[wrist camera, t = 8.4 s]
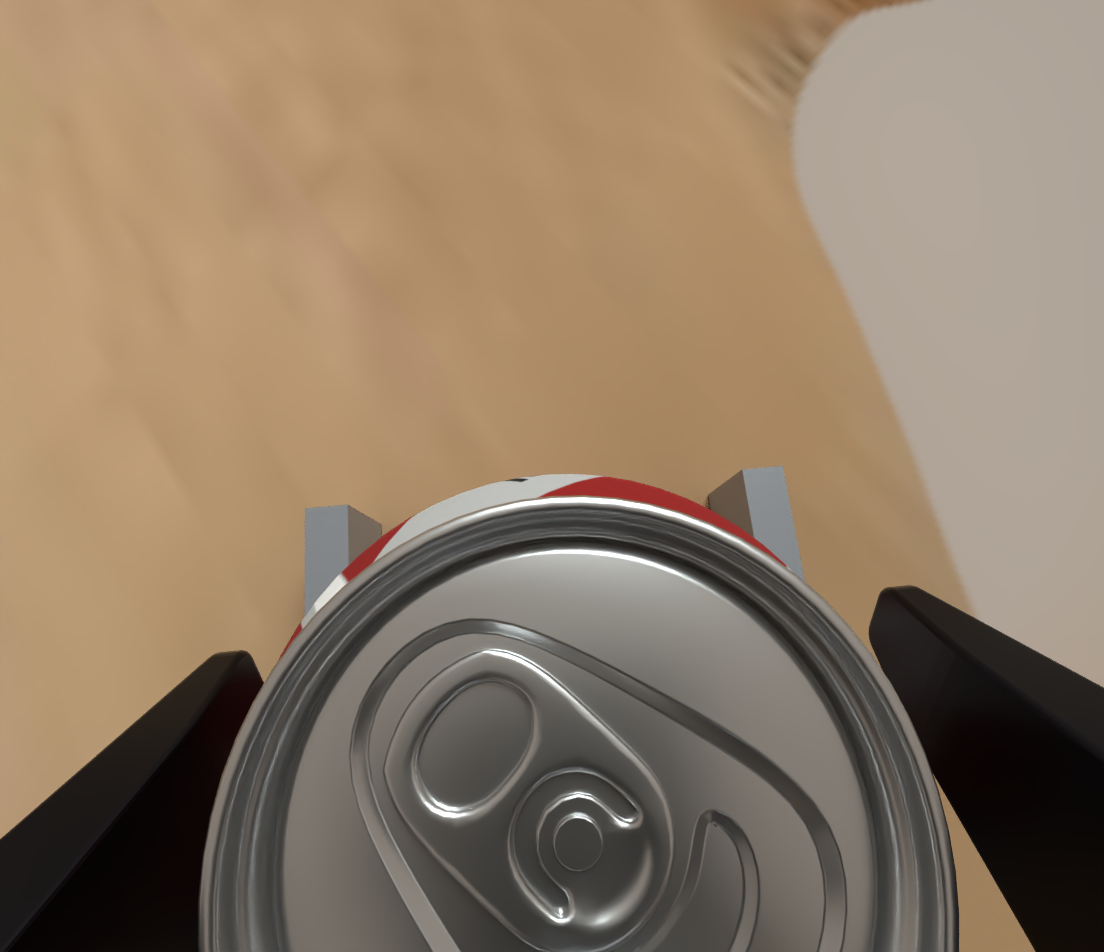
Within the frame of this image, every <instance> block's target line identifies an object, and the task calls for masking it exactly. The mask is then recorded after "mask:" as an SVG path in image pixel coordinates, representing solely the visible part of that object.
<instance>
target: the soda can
mask: <svg viewBox="0 0 1104 952" xmlns="http://www.w3.org/2000/svg"><path fill="white" fill-rule="evenodd" d="M198 952H959V907H958V895H957V882H956V871H955V865H954V859H953V853H952V847H951V841H950V835H949V829H948V825H947V821H946V818H945V814H944V810H943V806H942V802H941V798H940V794H939V790H938V788H937V785H936V782H935V779H934V776H933V773H932V770H931V767H930V765H929V762H928V759H927V756H926V753H925V751H924V749H923V746H922V744H921V742H920V740H919V737H918V735H917V733H916V731H915V728H914V726H913V724H912V722H911V719H910V717H909V715H908V713H907V712H906V710H905V708H904V706H903V704H902V702H901V701H900V699H899V697H898V695H897V693H896V692H895V690H894V688H893V686H892V684H891V683H890V681H889V680H888V678H887V677H886V675H885V674H884V672H883V671H882V669H881V668H880V666H879V665H878V663H877V662H876V660H875V659H874V657H873V656H872V654H871V653H870V651H869V650H868V649H867V648H866V646H865V645H864V644H863V643H862V641H861V640H860V639H859V638H858V636H857V635H856V634H855V633H854V631H853V630H852V629H851V628H850V626H849V625H848V624H847V623H846V622H845V621H844V620H843V619H842V618H841V617H840V616H839V614H838V613H837V612H836V611H835V610H834V609H833V608H832V607H831V606H830V605H829V604H828V603H827V602H826V601H825V600H824V599H823V598H822V597H821V596H820V595H819V594H818V593H817V592H815V591H814V590H813V589H812V588H811V587H810V586H809V585H807V584H806V583H805V582H804V581H803V580H802V579H801V578H800V577H798V576H797V575H796V574H795V573H793V572H792V571H791V569H790V568H789V567H788V566H787V565H786V564H785V563H783V562H782V561H781V560H780V559H779V558H778V557H777V556H776V555H774V554H773V553H772V552H771V551H770V550H769V549H768V548H766V547H765V546H764V545H763V544H762V543H760V542H759V541H758V540H756V539H755V538H753V537H752V536H751V535H749V534H748V533H747V532H745V531H744V530H743V529H741V528H740V527H738V526H737V525H735V524H733V523H732V522H730V521H728V520H727V519H725V518H723V517H722V516H720V515H718V514H717V513H715V512H713V511H712V510H709V509H707V508H705V507H703V506H701V505H699V504H697V503H695V502H693V501H691V500H689V499H687V498H684V497H681V496H679V495H676V494H673V493H671V492H668V491H665V490H662V489H660V488H656V487H652V486H649V485H645V484H641V483H638V482H634V481H629V480H623V479H617V478H612V477H606V476H595V475H581V474H553V475H539V476H530V477H522V478H515V479H511V480H506V481H502V482H497V483H492V484H488V485H485V486H482V487H479V488H476V489H473V490H469V491H466V492H463V493H460V494H458V495H456V496H453V497H451V498H449V499H446V500H444V501H442V502H439V503H437V504H435V505H433V506H431V507H429V508H427V509H425V510H423V511H422V512H420V513H418V514H416V515H414V516H412V517H411V518H409V519H407V520H406V521H404V522H403V523H401V524H400V525H398V526H397V527H395V528H394V529H392V530H391V531H389V532H388V533H386V534H385V535H383V536H382V537H381V538H380V539H378V540H377V541H376V542H375V543H373V544H372V545H371V546H370V547H368V548H367V549H366V550H365V551H363V552H362V553H361V554H360V555H359V556H358V557H357V558H356V559H355V560H354V561H353V562H352V563H350V564H349V565H348V566H347V567H346V568H345V569H344V570H343V571H342V572H341V573H340V574H339V575H338V576H337V577H336V578H335V580H334V581H333V582H332V583H331V584H330V585H329V587H328V588H327V589H326V590H325V591H324V592H323V594H322V595H321V596H320V597H319V598H318V599H317V601H316V602H315V603H314V605H313V606H312V608H311V609H310V610H309V612H308V613H307V615H306V616H305V617H304V619H303V620H302V622H301V623H300V624H299V626H298V627H297V629H296V631H295V632H294V634H293V636H292V637H291V639H290V641H289V642H288V644H287V646H286V648H285V649H284V651H283V653H282V654H281V656H280V658H279V660H278V662H277V664H276V665H275V666H274V668H273V669H272V671H271V672H270V674H269V676H268V678H267V679H266V681H265V683H264V684H263V686H262V688H261V689H260V691H259V693H258V695H257V696H256V698H255V700H254V701H253V703H252V705H251V707H250V709H249V711H248V713H247V716H246V718H245V720H244V722H243V724H242V726H241V728H240V730H239V732H238V734H237V737H236V739H235V741H234V744H233V747H232V749H231V752H230V755H229V757H228V760H227V763H226V765H225V768H224V771H223V773H222V776H221V779H220V783H219V787H218V790H217V794H216V797H215V801H214V805H213V808H212V812H211V815H210V820H209V826H208V831H207V836H206V841H205V847H204V852H203V857H202V867H201V877H200V887H199V897H198Z"/></svg>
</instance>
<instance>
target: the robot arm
mask: <svg viewBox="0 0 1104 952" xmlns="http://www.w3.org/2000/svg"><path fill="white" fill-rule="evenodd" d="M869 639H870V643H871V645H872V648H873V650H874V652H875V655H876V657H877V659H878V661H879V663H880V666H881V668H882V670H883V672H884V674H885V675H886V677H887V678H888V680H889V681H890V683H891V684H892V686H893V688H894V690H895V692H896V693H897V695H898V697H899V699H900V701H901V702H902V704H903V706H904V708H905V710H906V712H907V713H908V715H909V717H910V719H911V722H912V724H913V726H914V728H915V731H916V733H917V735H918V737H919V740H920V742H921V744H922V746H923V749H924V751H925V753H926V756H927V759H928V762H929V765H930V767H931V770H932V773H933V774H934V776H935V778H936V780H937V781H938V783H939V785H940V786H941V788H942V790H943V792H944V793H945V795H946V797H947V799H948V800H949V802H950V804H951V806H952V807H953V809H954V811H955V813H956V814H957V816H958V818H959V819H960V821H961V823H962V825H963V826H964V828H965V830H966V832H967V833H968V835H969V837H970V839H971V840H972V842H973V844H974V846H975V847H976V849H977V851H978V852H979V854H980V856H981V858H982V859H983V861H984V863H985V865H986V866H987V868H988V870H989V872H990V873H991V875H992V877H993V879H994V880H995V882H996V884H997V885H998V887H999V889H1000V891H1001V892H1002V894H1003V896H1004V898H1005V899H1006V901H1007V903H1008V905H1009V906H1010V908H1011V910H1012V912H1013V913H1014V915H1015V917H1016V918H1017V920H1018V922H1019V924H1020V925H1021V927H1022V929H1023V931H1024V932H1025V934H1026V936H1027V938H1028V939H1029V941H1030V943H1031V945H1032V946H1033V948H1034V950H1035V951H1036V952H1104V688H1103V687H1101V686H1100V685H1098V684H1096V683H1094V682H1092V681H1090V680H1088V679H1086V678H1085V677H1083V676H1081V675H1079V674H1077V673H1076V672H1073V671H1072V670H1070V669H1068V668H1066V667H1064V666H1063V665H1061V664H1059V663H1057V662H1055V661H1053V660H1052V659H1050V658H1048V657H1046V656H1044V655H1042V654H1040V653H1039V652H1037V651H1035V650H1033V649H1031V648H1029V647H1027V646H1026V645H1023V644H1022V643H1020V642H1018V641H1016V640H1015V639H1013V638H1011V637H1009V636H1007V635H1005V634H1003V633H1002V632H1000V631H998V630H996V629H994V628H992V627H990V626H989V625H987V624H985V623H983V622H981V621H979V620H977V619H976V618H974V617H972V616H970V615H968V614H966V613H964V612H963V611H961V610H959V609H957V608H955V607H953V606H952V605H950V604H948V603H946V602H944V601H942V600H940V599H939V598H937V597H935V596H933V595H931V594H929V593H927V592H926V591H924V590H922V589H920V588H918V587H915V586H910V585H907V586H896V587H887V588H885V589H883V590H882V591H881V592H880V595H879V597H878V600H877V604H876V607H875V610H874V613H873V616H872V619H871V622H870V626H869ZM263 684H264V682H263V680H262V678H261V675H260V673H259V671H258V669H257V667H256V665H255V662H254V660H253V658H252V656H251V655H250V654H249V653H248V652H247V651H243V650H239V651H229V652H220V653H216V654H214V655H212V656H211V657H210V658H208V659H207V660H206V661H205V662H204V663H203V664H201V665H200V666H199V667H198V668H197V669H196V670H195V671H193V672H192V673H191V674H190V675H189V676H188V677H186V678H185V679H184V680H183V681H182V682H181V683H180V684H178V685H177V686H176V687H175V688H174V689H173V690H171V691H170V692H169V693H168V694H167V695H166V696H165V697H163V698H162V699H161V700H160V701H159V702H158V703H157V704H155V705H154V706H153V707H152V708H151V709H150V710H148V711H147V712H146V713H145V714H144V715H143V716H142V717H140V718H139V719H138V720H137V721H136V722H135V723H134V724H132V725H131V726H130V727H129V728H128V729H127V730H125V731H124V732H123V733H122V734H121V735H120V736H119V737H117V738H116V739H115V740H114V741H113V742H112V743H110V744H109V745H108V746H107V747H106V748H105V749H104V750H102V751H101V752H100V753H99V754H98V755H97V756H96V757H94V758H93V759H92V760H91V761H90V762H89V763H87V764H86V765H85V766H84V767H83V768H82V769H81V770H79V771H78V772H77V773H76V774H75V775H74V776H72V777H71V778H70V779H69V780H68V781H67V782H66V783H64V784H63V785H62V786H61V787H60V788H59V789H58V790H56V791H55V792H54V793H53V794H52V795H51V796H49V797H48V798H47V799H46V800H45V801H44V802H43V803H41V804H40V805H39V806H38V807H37V808H36V809H34V810H33V811H32V812H31V813H30V814H29V815H28V816H26V817H25V818H24V819H23V820H22V821H21V822H20V823H18V824H17V825H16V826H15V827H14V828H13V829H11V830H10V831H9V832H8V833H7V834H6V835H5V836H3V837H2V838H1V839H0V952H198V897H199V887H200V877H201V867H202V857H203V852H204V847H205V841H206V836H207V831H208V826H209V820H210V815H211V812H212V808H213V805H214V801H215V797H216V794H217V790H218V787H219V783H220V779H221V776H222V773H223V771H224V768H225V765H226V763H227V760H228V757H229V755H230V752H231V749H232V747H233V744H234V741H235V739H236V737H237V734H238V732H239V730H240V728H241V726H242V724H243V722H244V720H245V718H246V716H247V713H248V711H249V709H250V707H251V705H252V703H253V701H254V700H255V698H256V696H257V695H258V693H259V691H260V689H261V688H262V686H263Z"/></svg>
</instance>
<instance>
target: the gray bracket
mask: <svg viewBox="0 0 1104 952" xmlns="http://www.w3.org/2000/svg"><path fill="white" fill-rule="evenodd" d="M708 496H709V503H710V509H711V510H712V511H713V512H715V513H717V514H718V515H720V516H722V517H723V518H725V519H727V520H728V521H730V522H732V523H733V524H735V525H737V526H738V527H740V528H741V529H743V530H744V531H745V532H747V533H748V534H749V535H751V536H752V537H753V538H755V539H756V540H758V541H759V542H760V543H762V544H763V545H764V546H765V547H766V548H768V549H769V550H770V551H771V552H772V553H773V554H774V555H776V556H777V557H778V558H779V559H780V560H781V561H782V562H783V563H785V564H786V565H787V566H788V567H789V568H790V569H791V571H792V572H793V573H795V574H796V575H797V576H798V577H800V578H801V579H802V580H803V581H804V582H805V580H804V575H803V570H802V564H801V559H800V554H799V549H798V544H797V538H796V533H795V528H794V523H793V518H792V512H791V507H790V502H789V497H788V492H787V486H786V481H785V476H784V471H783V466H777V467H766V468H754V469H743V470H741V471H740V472H738V473H737V474H736V475H734V476H733V477H732V478H730V479H729V480H727V481H726V482H725V483H723V484H722V485H721V486H719V487H718V488H717V489H715V490H714V491H713V492H711V493H710V494H709V495H708ZM381 537H382V530H381V524H380V523H378V522H377V521H375V520H373V519H371V518H370V517H368V516H366V515H365V514H363V513H361V512H359V511H358V510H356V509H354V508H353V507H351V506H349V505H339V506H328V507H317V508H305V616H306V615H307V613H308V612H309V610H310V609H311V608H312V606H313V605H314V603H315V602H316V601H317V599H318V598H319V597H320V596H321V595H322V594H323V592H324V591H325V590H326V589H327V588H328V587H329V585H330V584H331V583H332V582H333V581H334V580H335V578H336V577H337V576H338V575H339V574H340V573H341V572H342V571H343V570H344V569H345V568H346V567H347V566H348V565H349V564H350V563H352V562H353V561H354V560H355V559H356V558H357V557H358V556H359V555H360V554H361V553H362V552H363V551H365V550H366V549H367V548H368V547H370V546H371V545H372V544H373V543H375V542H376V541H377V540H378V539H380V538H381Z"/></svg>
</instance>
